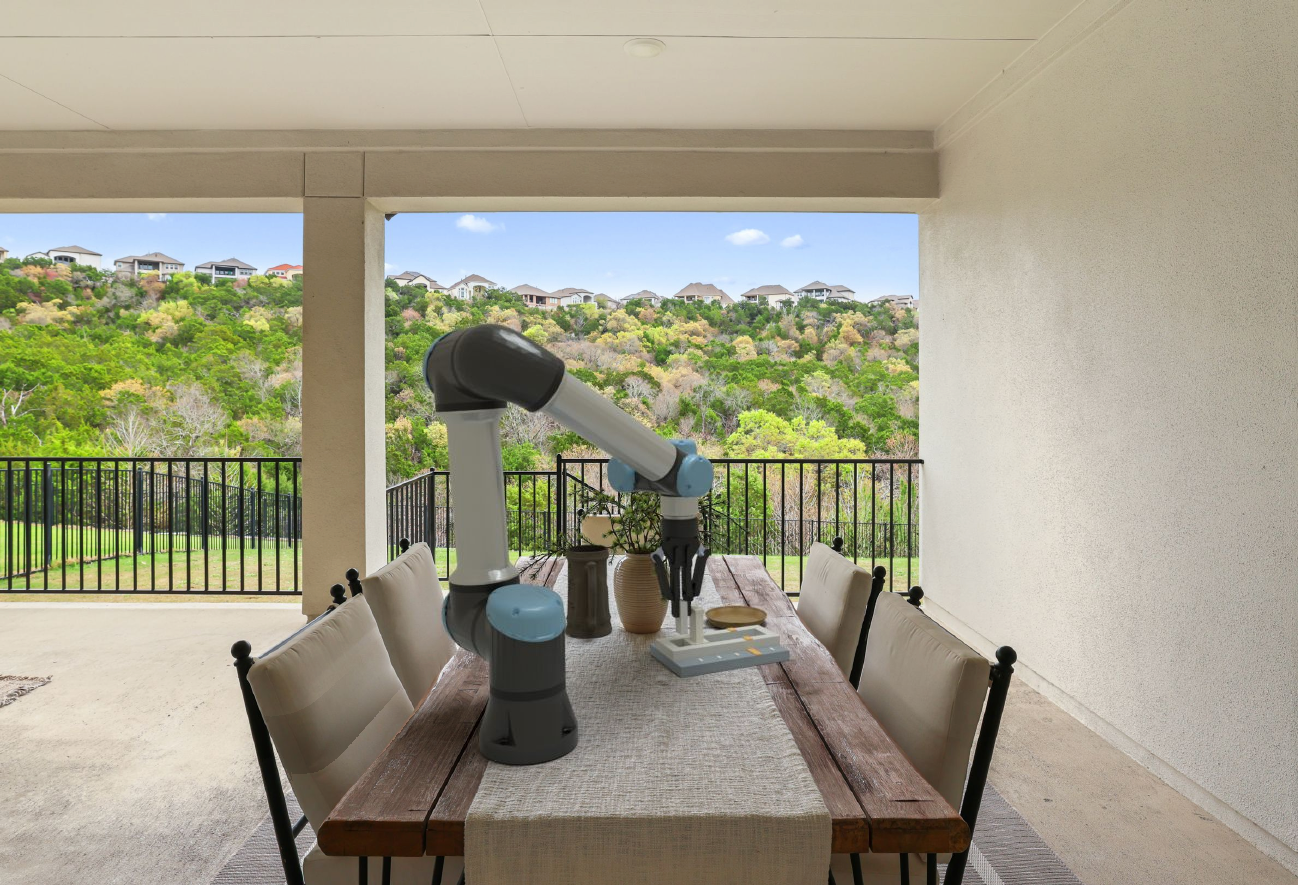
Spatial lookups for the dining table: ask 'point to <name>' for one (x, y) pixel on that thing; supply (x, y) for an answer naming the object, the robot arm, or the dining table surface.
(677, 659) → the console
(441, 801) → the dining table surface
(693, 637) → the fader tab
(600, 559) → the beer stein
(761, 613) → the plant saucer
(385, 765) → the dining table surface
